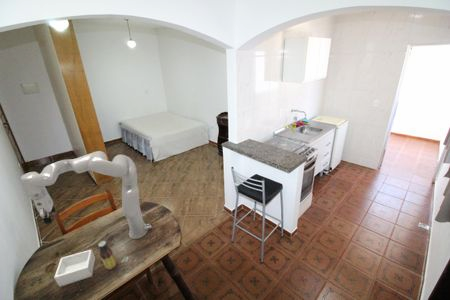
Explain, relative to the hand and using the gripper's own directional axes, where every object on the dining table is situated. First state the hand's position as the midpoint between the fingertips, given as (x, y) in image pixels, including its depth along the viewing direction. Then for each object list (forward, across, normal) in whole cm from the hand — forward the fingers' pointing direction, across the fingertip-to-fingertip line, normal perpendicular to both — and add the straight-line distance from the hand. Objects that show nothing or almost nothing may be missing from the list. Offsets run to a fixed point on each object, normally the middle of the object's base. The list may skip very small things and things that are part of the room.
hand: (50, 217), depth 125 cm
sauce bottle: (+31, -23, -24) cm, 46 cm away
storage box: (+31, -17, -6) cm, 36 cm away
